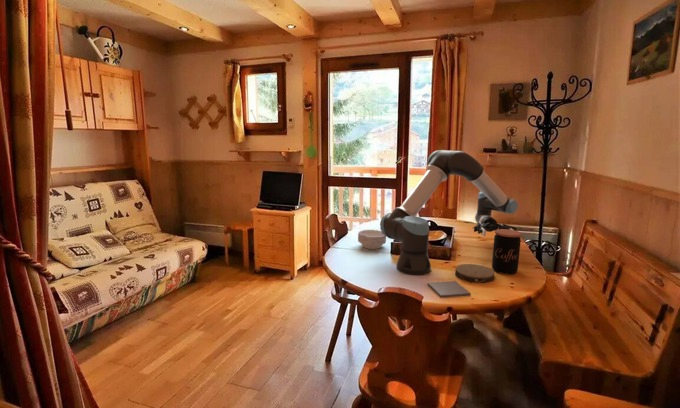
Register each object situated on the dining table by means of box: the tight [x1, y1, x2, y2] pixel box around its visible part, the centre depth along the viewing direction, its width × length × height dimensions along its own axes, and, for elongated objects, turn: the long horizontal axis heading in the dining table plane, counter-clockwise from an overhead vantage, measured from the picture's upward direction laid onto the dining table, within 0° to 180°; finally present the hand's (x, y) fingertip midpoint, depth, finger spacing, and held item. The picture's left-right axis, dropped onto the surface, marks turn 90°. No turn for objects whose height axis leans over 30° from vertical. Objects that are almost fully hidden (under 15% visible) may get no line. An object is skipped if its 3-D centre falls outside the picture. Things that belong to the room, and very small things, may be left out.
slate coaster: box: [427, 280, 472, 299], centre depth 140 cm, size 12×12×1 cm
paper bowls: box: [357, 229, 387, 250], centre depth 195 cm, size 15×15×8 cm
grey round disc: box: [454, 263, 496, 284], centre depth 155 cm, size 16×16×3 cm
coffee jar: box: [491, 229, 522, 275], centre depth 160 cm, size 11×11×18 cm
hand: (499, 233), depth 171 cm, fingers open, 13 cm apart
